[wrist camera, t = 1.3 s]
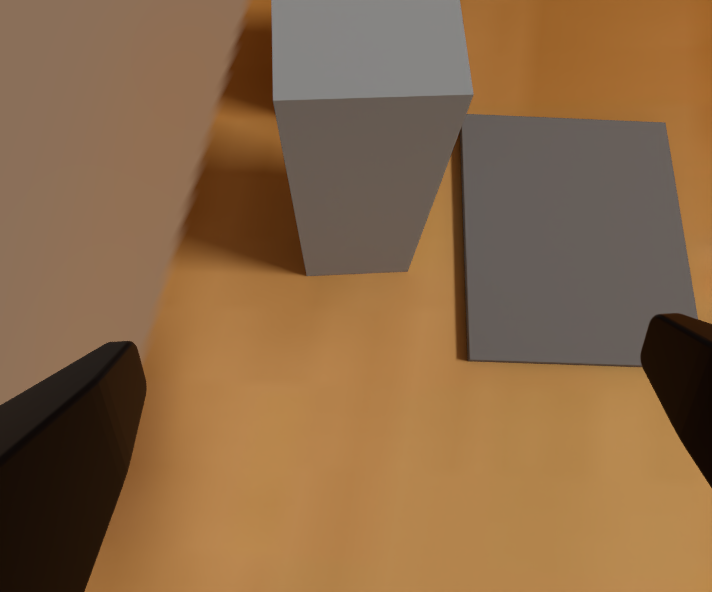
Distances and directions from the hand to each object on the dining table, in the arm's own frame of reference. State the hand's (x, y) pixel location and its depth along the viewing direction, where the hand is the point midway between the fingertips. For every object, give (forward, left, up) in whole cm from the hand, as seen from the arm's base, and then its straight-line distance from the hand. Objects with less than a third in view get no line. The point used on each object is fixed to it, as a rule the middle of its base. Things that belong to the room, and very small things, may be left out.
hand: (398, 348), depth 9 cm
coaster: (+8, -9, -13) cm, 18 cm away
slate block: (+8, +1, -13) cm, 15 cm away
